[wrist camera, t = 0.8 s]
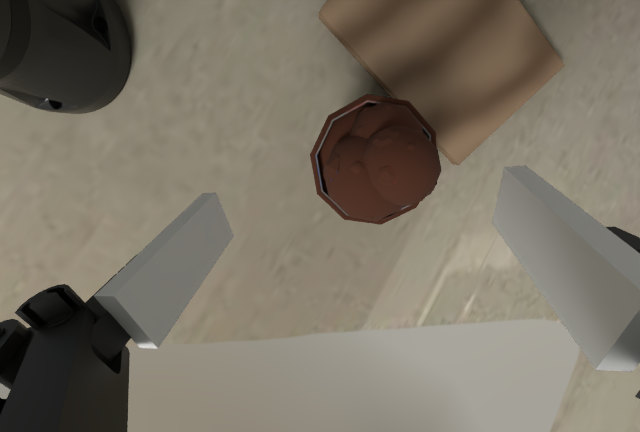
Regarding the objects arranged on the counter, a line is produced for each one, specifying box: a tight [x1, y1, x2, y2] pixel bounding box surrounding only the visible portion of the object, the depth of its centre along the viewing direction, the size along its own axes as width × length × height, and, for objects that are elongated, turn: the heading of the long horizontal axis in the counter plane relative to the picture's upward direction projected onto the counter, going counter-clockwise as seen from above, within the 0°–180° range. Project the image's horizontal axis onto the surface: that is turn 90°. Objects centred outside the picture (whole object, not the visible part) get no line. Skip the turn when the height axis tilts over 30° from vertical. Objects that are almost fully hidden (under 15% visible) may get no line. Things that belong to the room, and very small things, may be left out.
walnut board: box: [319, 0, 565, 165], centre depth 28 cm, size 22×14×2 cm, turn 47°
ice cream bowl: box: [310, 94, 441, 224], centre depth 25 cm, size 11×11×15 cm
